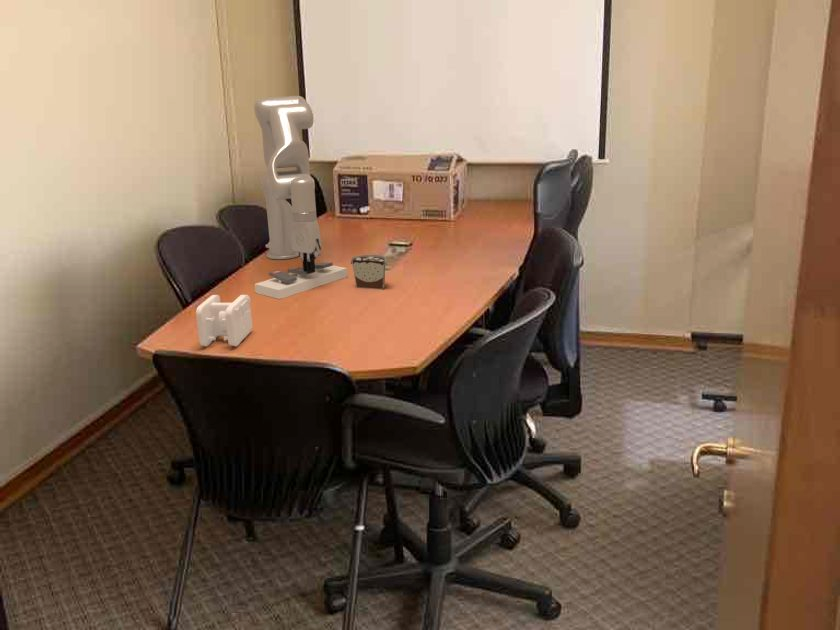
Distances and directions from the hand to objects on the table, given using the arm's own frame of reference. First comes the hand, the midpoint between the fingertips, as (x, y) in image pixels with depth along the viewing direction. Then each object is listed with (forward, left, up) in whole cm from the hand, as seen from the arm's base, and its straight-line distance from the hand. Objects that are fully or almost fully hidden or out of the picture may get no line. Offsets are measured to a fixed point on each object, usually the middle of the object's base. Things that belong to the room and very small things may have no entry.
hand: (309, 271), depth 286 cm
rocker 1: (-4, -8, 0) cm, 9 cm away
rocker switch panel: (-4, 0, -5) cm, 7 cm away
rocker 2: (-4, 0, 0) cm, 4 cm away
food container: (+17, +12, -5) cm, 21 cm away
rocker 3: (-4, +8, 0) cm, 9 cm away
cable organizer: (+19, -48, -5) cm, 52 cm away
